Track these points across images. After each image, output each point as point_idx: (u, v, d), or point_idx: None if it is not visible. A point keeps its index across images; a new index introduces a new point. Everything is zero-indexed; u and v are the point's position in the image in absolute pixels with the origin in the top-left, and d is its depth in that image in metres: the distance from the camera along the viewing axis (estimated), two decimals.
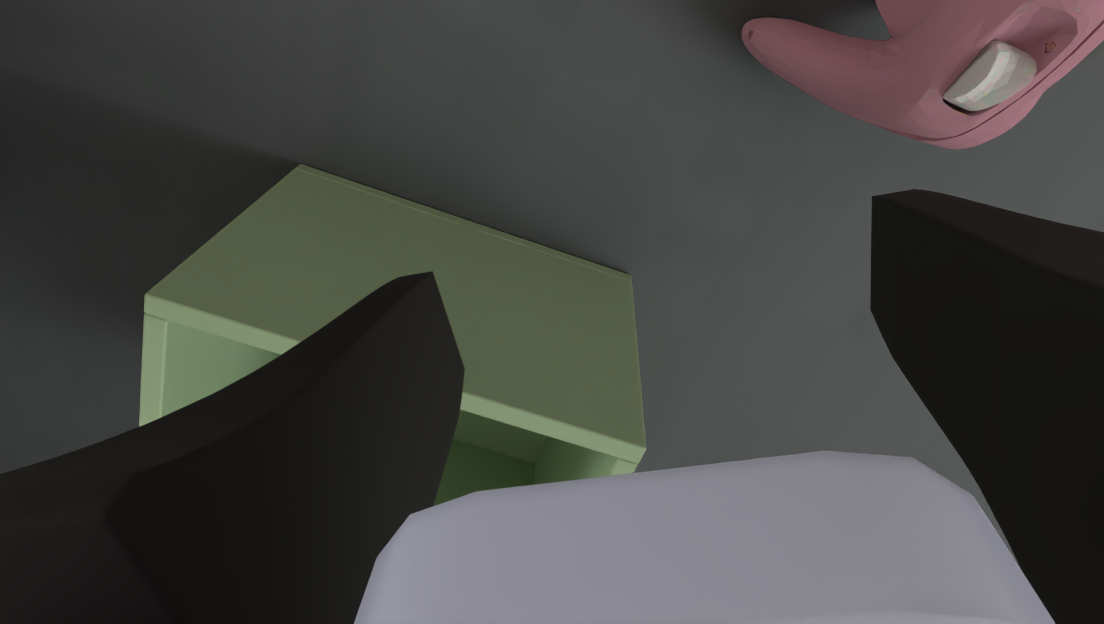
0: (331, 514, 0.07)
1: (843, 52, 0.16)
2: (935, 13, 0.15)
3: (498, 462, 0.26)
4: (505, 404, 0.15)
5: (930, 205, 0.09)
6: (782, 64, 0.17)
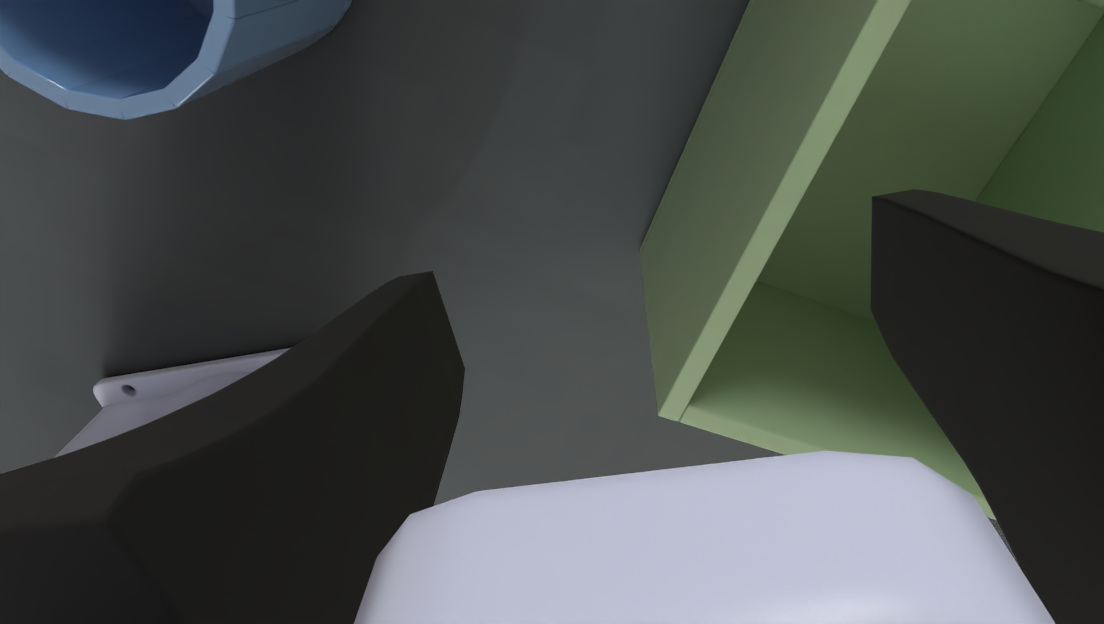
0: (331, 514, 0.08)
1: None
2: None
3: None
4: None
5: (930, 205, 0.09)
6: None
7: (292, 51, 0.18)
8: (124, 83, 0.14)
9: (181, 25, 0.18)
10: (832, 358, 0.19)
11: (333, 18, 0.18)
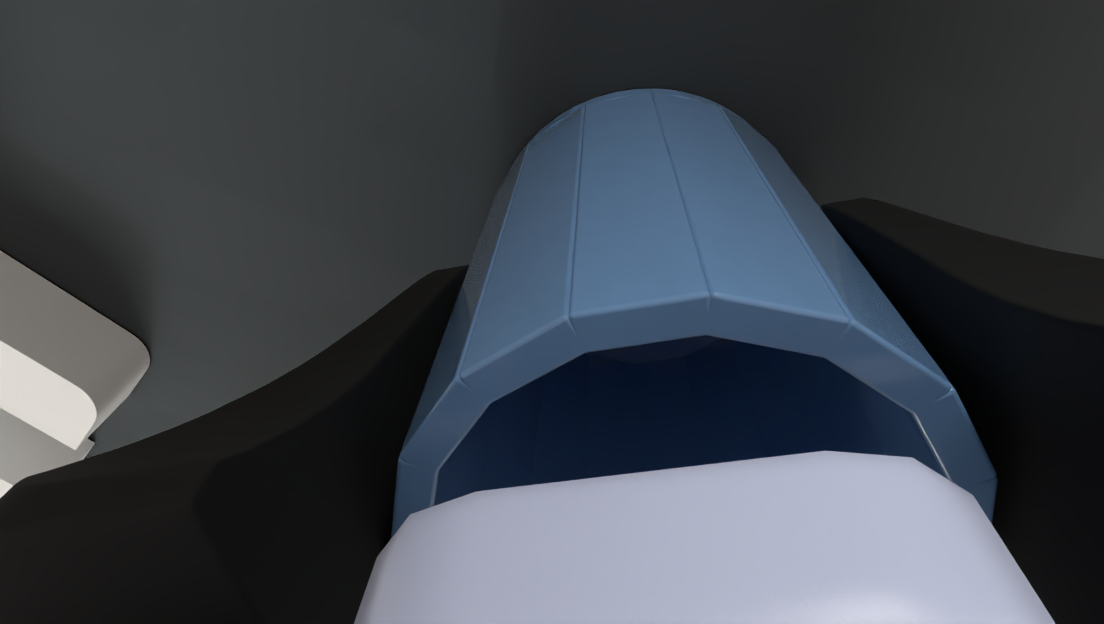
0: (387, 508, 0.07)
1: None
2: None
3: None
4: None
5: (871, 215, 0.09)
6: None
7: None
8: None
9: (553, 375, 0.13)
10: None
11: None
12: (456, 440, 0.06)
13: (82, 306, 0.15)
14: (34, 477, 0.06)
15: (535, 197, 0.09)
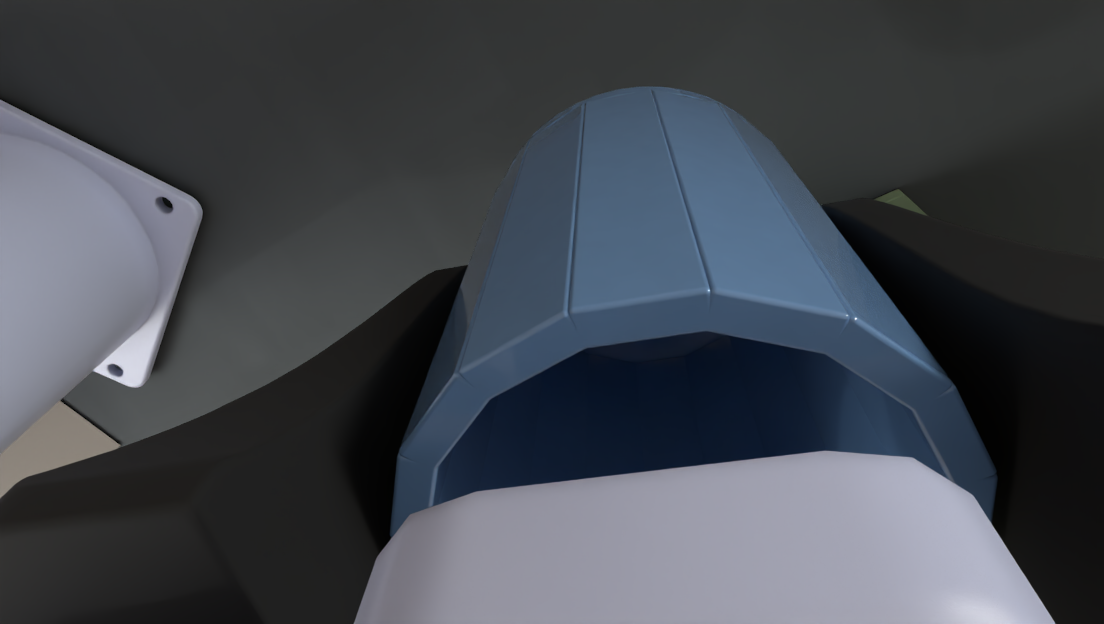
0: (387, 507, 0.07)
1: None
2: None
3: None
4: None
5: (871, 215, 0.09)
6: None
7: None
8: None
9: (553, 373, 0.13)
10: None
11: None
12: (455, 436, 0.06)
13: None
14: (34, 477, 0.06)
15: (535, 194, 0.09)
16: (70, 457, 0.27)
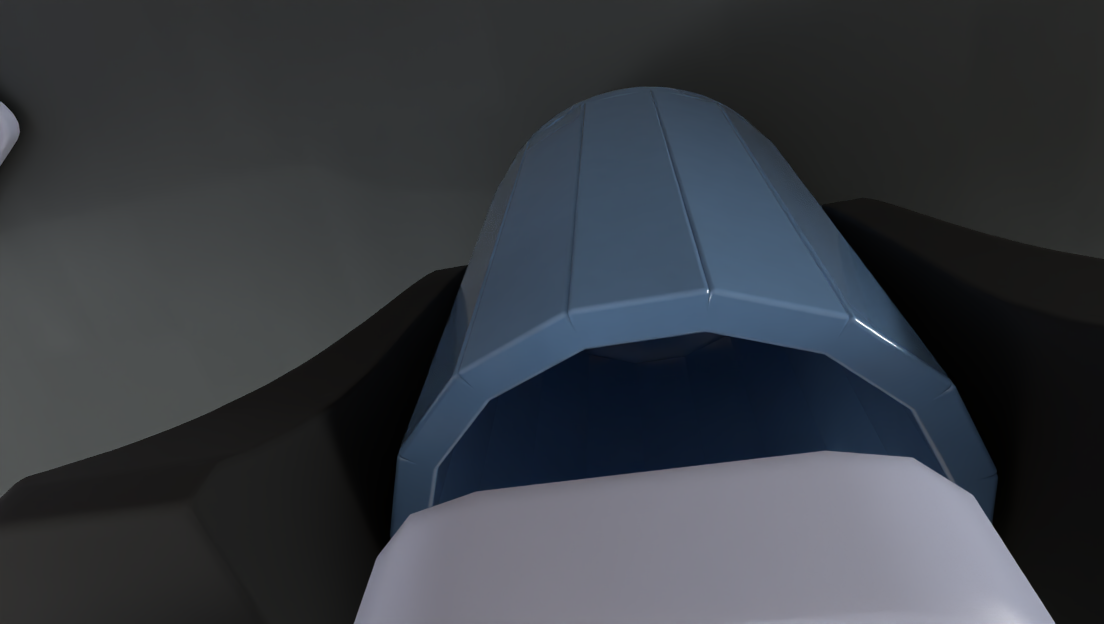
0: (387, 508, 0.07)
1: None
2: None
3: None
4: None
5: (871, 215, 0.09)
6: None
7: None
8: None
9: (553, 374, 0.13)
10: None
11: None
12: (455, 437, 0.06)
13: None
14: (34, 477, 0.06)
15: (534, 195, 0.09)
16: None
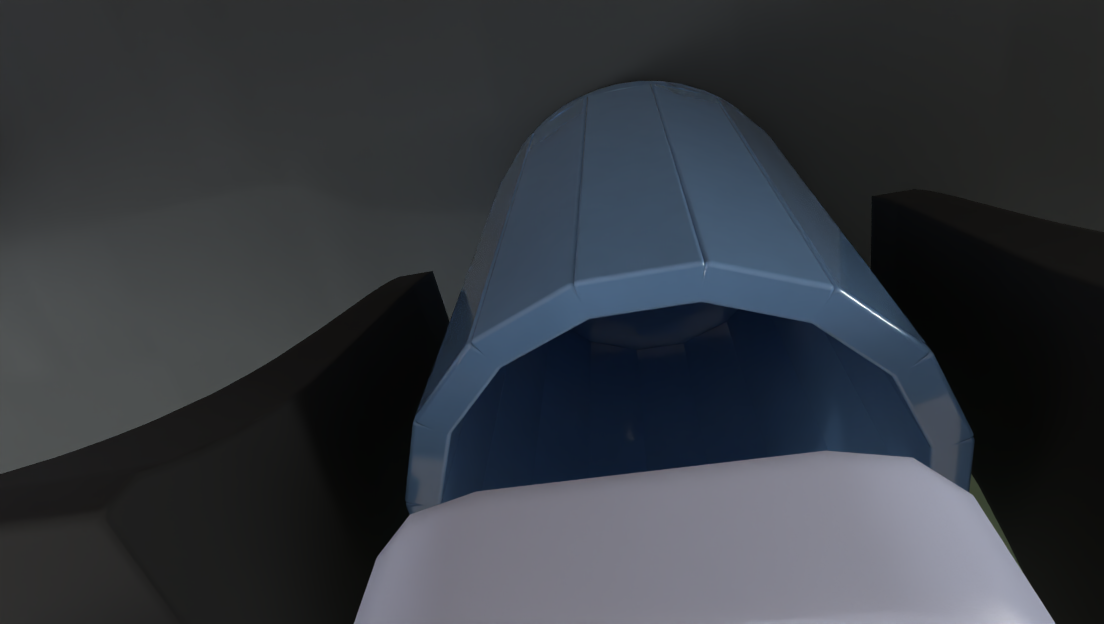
0: (331, 514, 0.07)
1: None
2: None
3: None
4: None
5: (930, 205, 0.09)
6: None
7: None
8: None
9: (556, 359, 0.13)
10: None
11: None
12: (468, 403, 0.07)
13: None
14: None
15: (540, 182, 0.09)
16: None
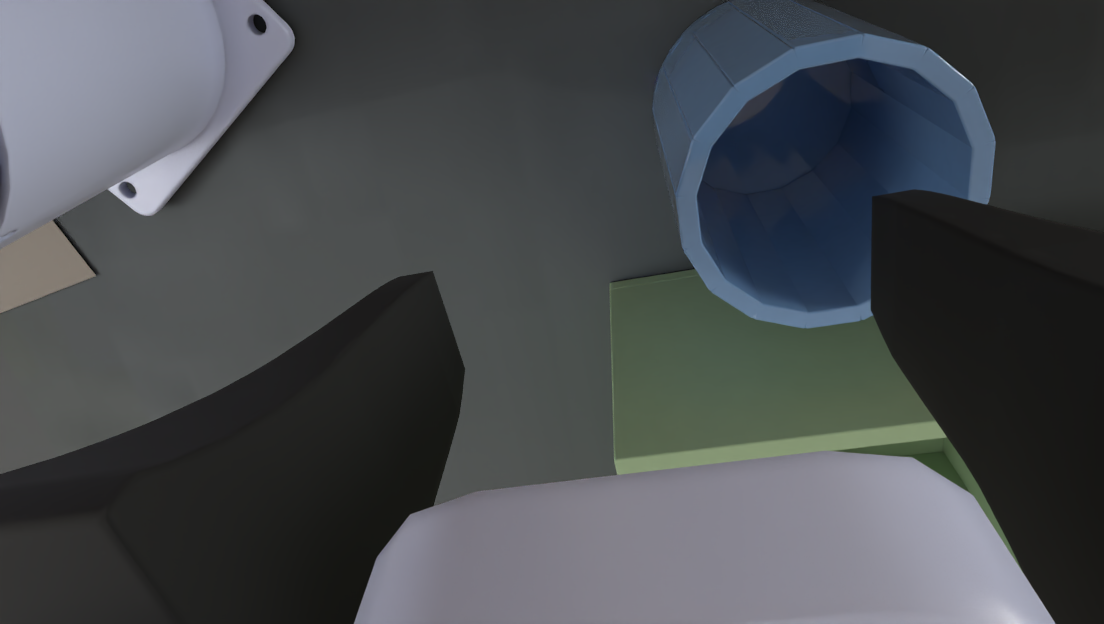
0: (331, 514, 0.07)
1: None
2: None
3: None
4: None
5: (930, 205, 0.09)
6: None
7: None
8: (774, 284, 0.15)
9: (698, 189, 0.19)
10: None
11: None
12: (726, 125, 0.12)
13: None
14: None
15: (725, 37, 0.15)
16: (30, 274, 0.24)
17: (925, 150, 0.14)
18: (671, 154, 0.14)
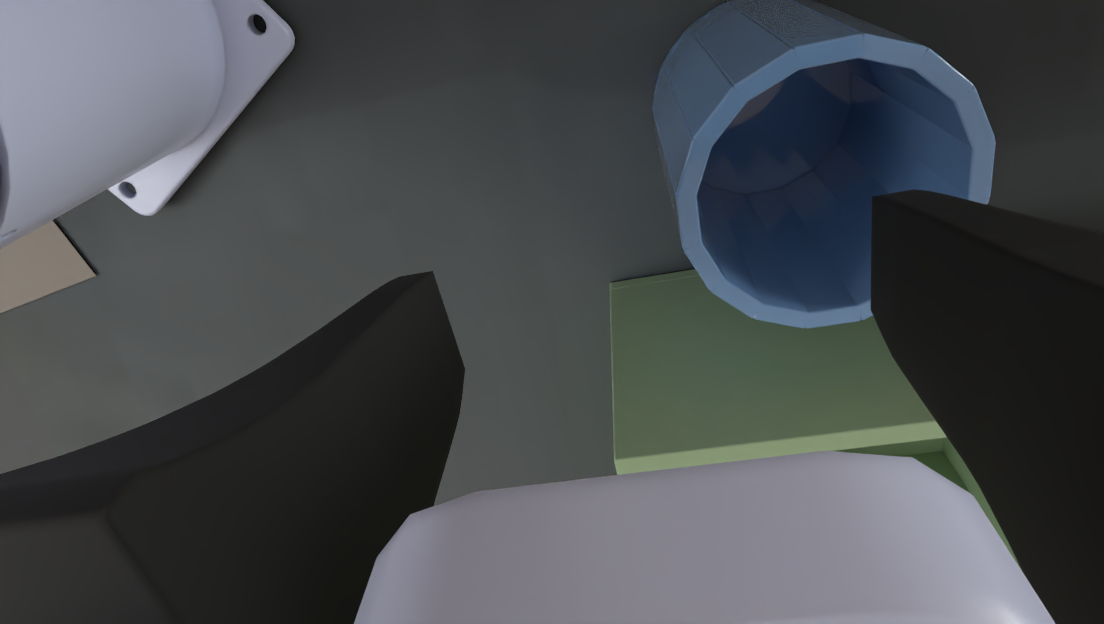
0: (331, 514, 0.07)
1: None
2: None
3: None
4: None
5: (930, 205, 0.09)
6: None
7: None
8: (774, 284, 0.15)
9: (698, 189, 0.19)
10: None
11: None
12: (726, 125, 0.12)
13: None
14: None
15: (725, 37, 0.15)
16: (30, 274, 0.24)
17: (925, 150, 0.14)
18: (671, 154, 0.14)
